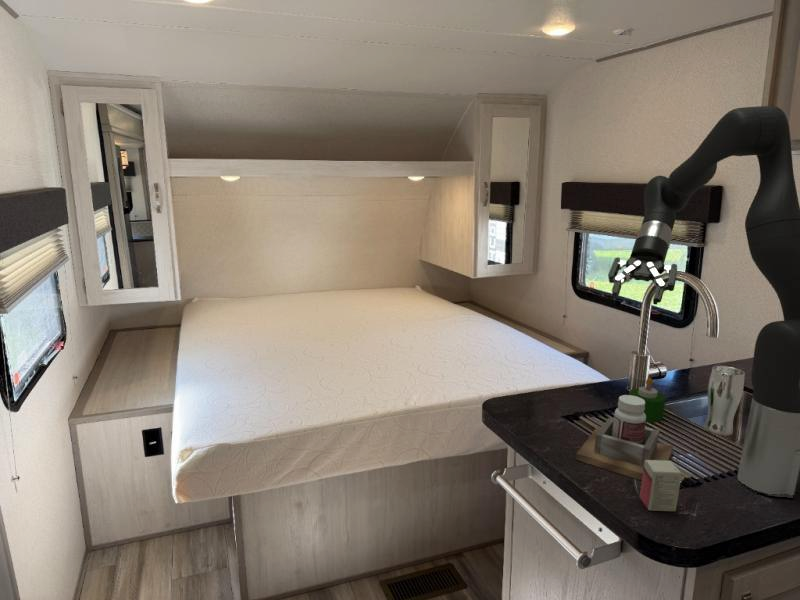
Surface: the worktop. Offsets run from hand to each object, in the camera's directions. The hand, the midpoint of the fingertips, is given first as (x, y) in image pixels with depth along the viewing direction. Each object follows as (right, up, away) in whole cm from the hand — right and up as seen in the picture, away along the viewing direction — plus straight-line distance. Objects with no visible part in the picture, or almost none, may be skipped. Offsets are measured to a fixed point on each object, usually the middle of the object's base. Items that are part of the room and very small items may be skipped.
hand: (634, 299), depth 127 cm
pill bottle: (-6, -32, -8) cm, 34 cm away
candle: (+8, -29, +13) cm, 33 cm away
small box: (-7, -38, -25) cm, 46 cm away
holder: (-6, -33, -8) cm, 35 cm away
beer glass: (+22, -31, +5) cm, 38 cm away
